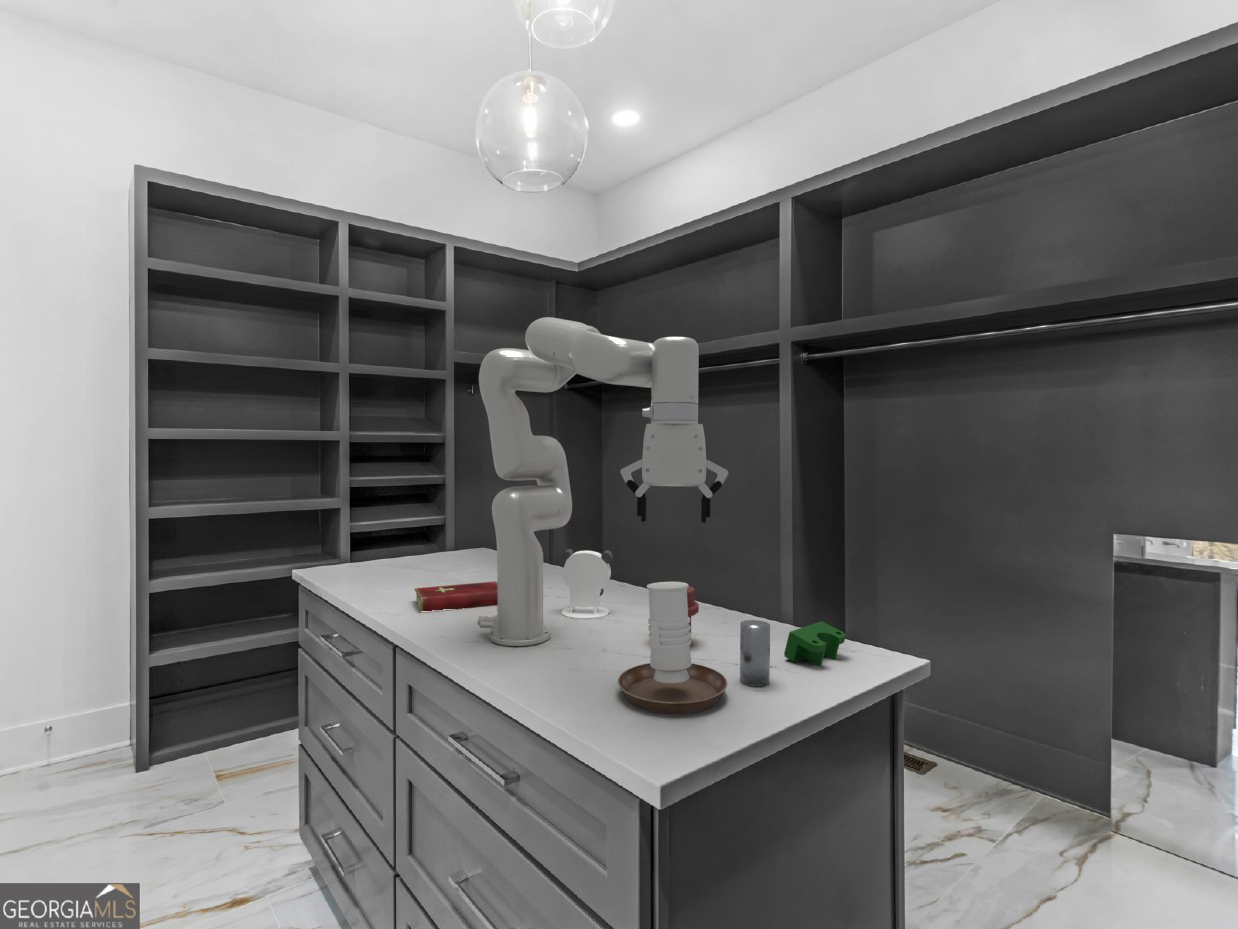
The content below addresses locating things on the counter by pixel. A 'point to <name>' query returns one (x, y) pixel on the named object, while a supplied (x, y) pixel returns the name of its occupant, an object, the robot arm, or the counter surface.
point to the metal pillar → (754, 653)
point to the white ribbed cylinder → (669, 631)
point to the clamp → (814, 643)
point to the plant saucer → (673, 689)
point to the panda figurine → (586, 582)
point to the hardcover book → (457, 596)
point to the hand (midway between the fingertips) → (673, 521)
